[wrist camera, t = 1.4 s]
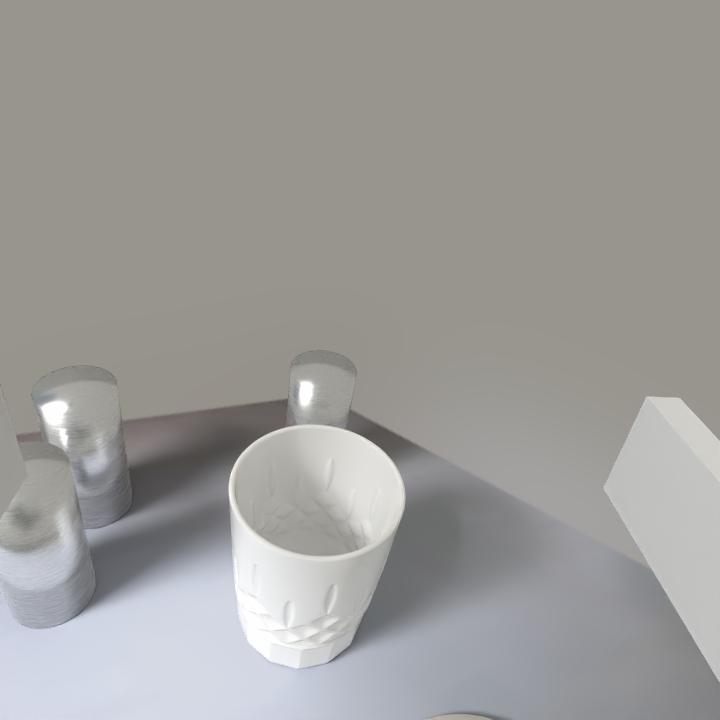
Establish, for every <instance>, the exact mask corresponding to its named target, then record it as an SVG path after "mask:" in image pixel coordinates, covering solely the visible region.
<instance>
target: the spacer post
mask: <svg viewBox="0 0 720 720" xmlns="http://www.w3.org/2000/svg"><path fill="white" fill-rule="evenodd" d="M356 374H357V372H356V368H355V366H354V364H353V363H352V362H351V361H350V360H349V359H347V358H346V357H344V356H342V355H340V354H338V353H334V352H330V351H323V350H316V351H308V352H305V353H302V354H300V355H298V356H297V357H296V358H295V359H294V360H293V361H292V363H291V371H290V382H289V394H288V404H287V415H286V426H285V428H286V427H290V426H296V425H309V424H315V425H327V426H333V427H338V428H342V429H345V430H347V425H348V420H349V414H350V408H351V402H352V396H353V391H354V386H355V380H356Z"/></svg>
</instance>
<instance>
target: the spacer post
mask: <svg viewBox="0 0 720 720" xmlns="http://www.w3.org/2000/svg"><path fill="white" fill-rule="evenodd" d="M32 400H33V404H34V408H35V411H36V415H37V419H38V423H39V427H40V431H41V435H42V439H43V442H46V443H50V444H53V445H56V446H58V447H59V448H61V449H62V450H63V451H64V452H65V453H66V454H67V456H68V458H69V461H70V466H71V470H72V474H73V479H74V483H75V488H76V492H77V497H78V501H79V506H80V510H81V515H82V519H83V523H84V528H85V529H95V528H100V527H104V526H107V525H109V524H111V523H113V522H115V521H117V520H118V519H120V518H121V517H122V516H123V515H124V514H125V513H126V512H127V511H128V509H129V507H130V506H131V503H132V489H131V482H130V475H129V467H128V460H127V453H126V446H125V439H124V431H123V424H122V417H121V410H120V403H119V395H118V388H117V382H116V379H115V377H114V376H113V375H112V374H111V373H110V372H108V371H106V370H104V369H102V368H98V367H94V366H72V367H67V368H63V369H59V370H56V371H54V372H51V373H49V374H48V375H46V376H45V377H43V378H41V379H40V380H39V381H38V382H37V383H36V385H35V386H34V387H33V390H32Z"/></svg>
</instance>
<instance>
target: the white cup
mask: <svg viewBox="0 0 720 720" xmlns="http://www.w3.org/2000/svg"><path fill="white" fill-rule="evenodd" d="M405 502H406V494H405V486H404V482H403V479H402V477H401V474H400V472H399V470H398V468H397V467H396V465H395V464H394V462H393V461H392V460H391V458H390V457H389V456H388V455H387V454H386V453H385V452H384V451H383V450H382V449H381V448H379V447H378V446H377V445H376V444H374V443H373V442H371V441H370V440H368V439H366V438H364V437H363V436H361V435H358V434H356V433H354V432H351V431H348V430H345V429H342V428H338V427H333V426H327V425H315V424H309V425H296V426H290V427H286V428H282V429H279V430H276V431H273V432H271V433H269V434H267V435H265V436H263V437H261V438H259V439H258V440H256V441H255V442H253V443H252V444H251V445H250V446H249V447H248V448H246V450H245V451H244V452H243V453H242V454H241V455H240V457H239V458H238V460H237V461H236V463H235V465H234V467H233V469H232V472H231V475H230V480H229V504H230V521H231V540H232V558H233V567H234V581H235V587H236V593H237V598H238V616H239V619H240V622H241V625H242V627H243V630H244V633H245V636H246V638H247V641H248V643H249V644H250V645H252V646H253V647H254V648H255V649H256V650H257V651H258V652H259V653H260V654H262V655H263V656H264V657H265V658H266V659H267V660H268V661H270V662H273V663H277V664H281V665H284V666H288V667H292V668H296V669H301V668H306V667H311V666H316V665H320V664H325V663H328V662H329V661H331V660H332V659H333V658H334V657H336V656H337V655H338V654H339V653H341V652H342V651H343V650H345V649H346V648H347V647H348V646H350V644H351V642H352V640H353V638H354V636H355V633H356V631H357V629H358V627H359V625H360V622H361V620H362V617H363V615H364V612H365V611H366V610H367V608H368V606H369V604H370V601H371V599H372V596H373V594H374V592H375V589H376V586H377V584H378V581H379V579H380V577H381V574H382V572H383V569H384V566H385V563H386V560H387V558H388V555H389V552H390V549H391V546H392V543H393V540H394V538H395V535H396V532H397V529H398V527H399V524H400V521H401V518H402V516H403V513H404V509H405Z"/></svg>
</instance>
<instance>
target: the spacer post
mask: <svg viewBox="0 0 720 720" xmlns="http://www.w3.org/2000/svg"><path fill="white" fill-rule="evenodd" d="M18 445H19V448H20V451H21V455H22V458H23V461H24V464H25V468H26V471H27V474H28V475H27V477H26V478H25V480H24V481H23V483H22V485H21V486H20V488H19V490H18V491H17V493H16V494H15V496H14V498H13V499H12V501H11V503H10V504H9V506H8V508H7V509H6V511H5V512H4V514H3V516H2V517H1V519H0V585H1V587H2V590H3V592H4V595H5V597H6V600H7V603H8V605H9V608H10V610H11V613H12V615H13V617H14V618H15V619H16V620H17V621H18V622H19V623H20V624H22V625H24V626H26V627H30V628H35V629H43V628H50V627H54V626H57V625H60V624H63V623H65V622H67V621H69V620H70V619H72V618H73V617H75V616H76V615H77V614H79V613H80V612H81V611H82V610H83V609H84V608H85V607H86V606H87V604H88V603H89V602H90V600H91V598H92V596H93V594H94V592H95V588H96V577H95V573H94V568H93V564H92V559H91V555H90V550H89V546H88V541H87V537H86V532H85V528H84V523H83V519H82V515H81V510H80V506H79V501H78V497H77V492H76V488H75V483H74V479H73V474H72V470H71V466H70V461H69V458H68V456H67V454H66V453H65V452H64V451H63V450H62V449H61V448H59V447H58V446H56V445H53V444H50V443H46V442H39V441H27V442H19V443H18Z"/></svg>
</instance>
